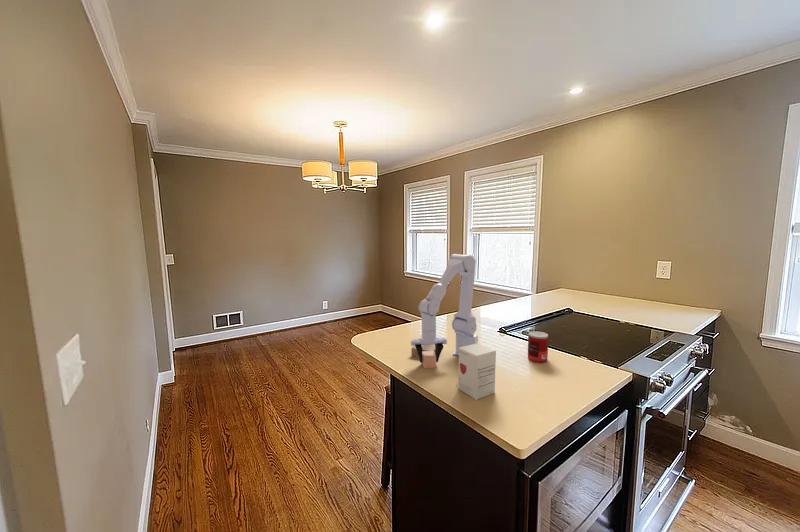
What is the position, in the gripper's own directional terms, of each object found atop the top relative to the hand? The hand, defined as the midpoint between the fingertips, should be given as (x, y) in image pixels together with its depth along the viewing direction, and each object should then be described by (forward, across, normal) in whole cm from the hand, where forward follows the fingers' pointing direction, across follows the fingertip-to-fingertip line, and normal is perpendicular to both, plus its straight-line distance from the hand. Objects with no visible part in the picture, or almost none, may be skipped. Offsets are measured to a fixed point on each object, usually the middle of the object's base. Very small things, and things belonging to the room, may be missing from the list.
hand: (428, 361), depth 132 cm
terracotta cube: (+2, 0, 0) cm, 2 cm away
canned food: (+2, -46, +1) cm, 46 cm away
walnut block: (+2, -1, -12) cm, 12 cm away
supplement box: (+2, -12, +23) cm, 26 cm away
